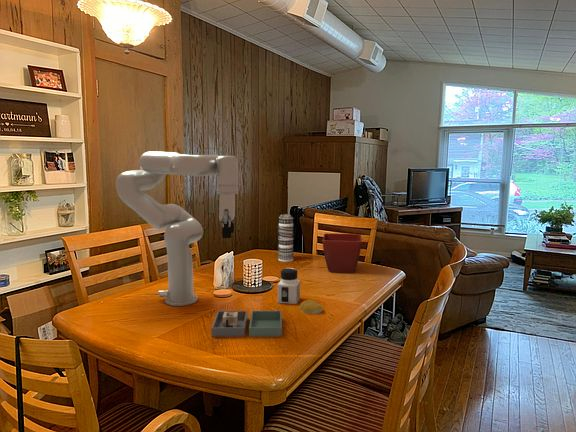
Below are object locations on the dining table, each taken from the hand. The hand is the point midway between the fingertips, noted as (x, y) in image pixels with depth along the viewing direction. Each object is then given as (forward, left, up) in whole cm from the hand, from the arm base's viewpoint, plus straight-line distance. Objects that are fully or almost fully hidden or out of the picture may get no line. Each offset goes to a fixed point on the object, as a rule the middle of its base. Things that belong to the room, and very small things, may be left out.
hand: (228, 235), depth 163 cm
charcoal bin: (+3, -20, -28) cm, 35 cm away
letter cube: (+3, -20, -28) cm, 34 cm away
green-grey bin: (+15, -20, -28) cm, 38 cm away
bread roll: (+31, -4, -29) cm, 42 cm away
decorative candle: (+23, +74, -28) cm, 83 cm away
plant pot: (+51, +54, -29) cm, 80 cm away
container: (+23, +8, -28) cm, 37 cm away
